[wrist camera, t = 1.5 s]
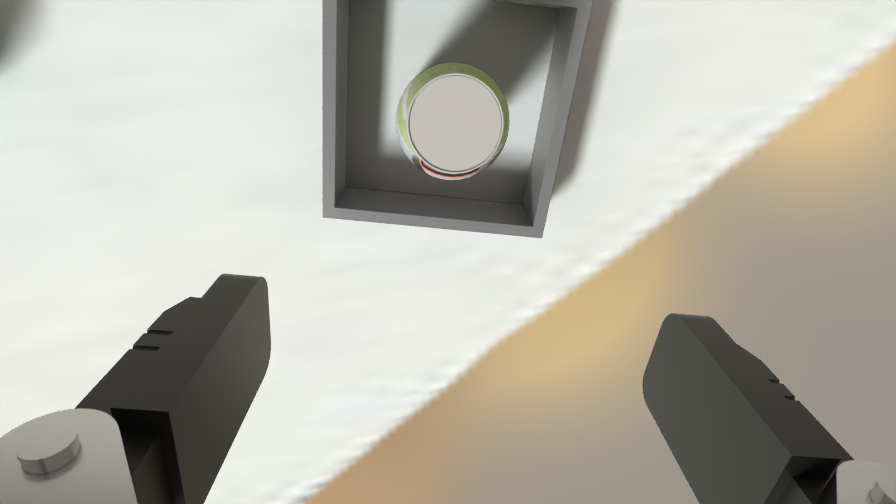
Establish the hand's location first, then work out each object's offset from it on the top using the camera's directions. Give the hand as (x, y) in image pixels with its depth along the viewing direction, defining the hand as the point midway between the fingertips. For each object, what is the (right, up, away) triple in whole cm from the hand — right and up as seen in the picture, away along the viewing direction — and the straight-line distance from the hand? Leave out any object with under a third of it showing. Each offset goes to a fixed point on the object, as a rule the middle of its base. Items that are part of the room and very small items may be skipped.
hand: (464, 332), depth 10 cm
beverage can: (-1, +12, +25) cm, 28 cm away
